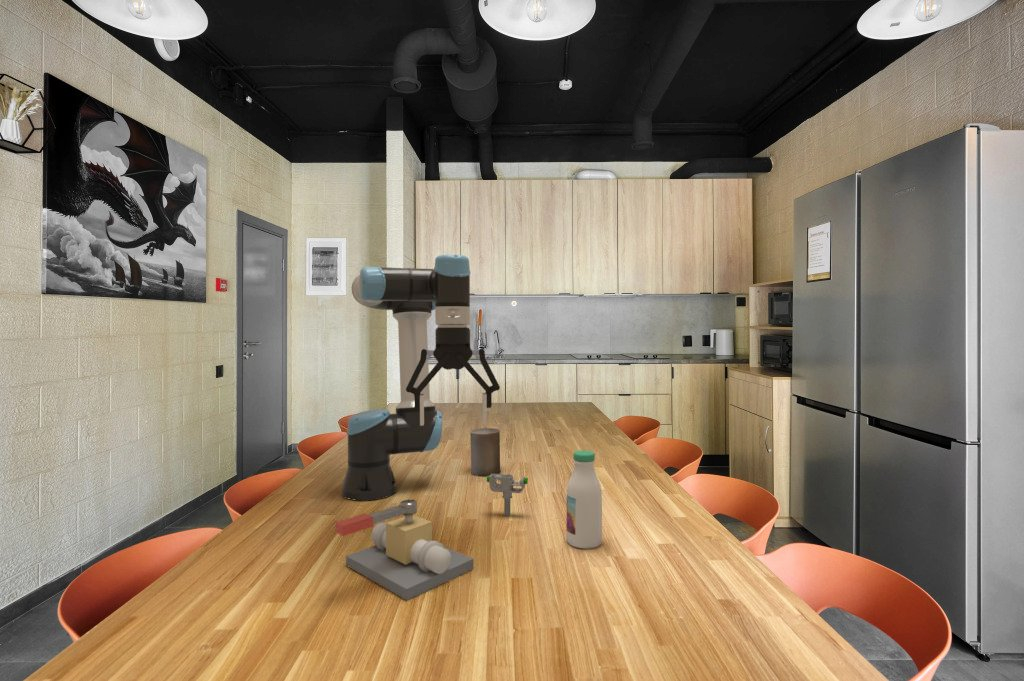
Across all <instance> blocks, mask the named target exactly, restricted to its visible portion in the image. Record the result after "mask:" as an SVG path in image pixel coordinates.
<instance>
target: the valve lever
mask: <svg viewBox="0 0 1024 681" xmlns="http://www.w3.org/2000/svg"><path fill="white" fill-rule="evenodd" d="M417 513H418V502H417V500H415V499H404V500H401V501H400V504H399V505H395V506H392V507H389V508H386V509H383V510H379V511H375V512H372V513H369V514H367V513H362V514H358V515H355V516H352V517H348V518H345V519H341V520H339V521H336V522H335V528H334V529H335V533H336V534H338V535H340V536H342V537H345V536H348V535H351V534H354V533H358V532H361V531H363V530H367V529H370V528H372V527H373V528H374V524H379V523H382V522H384V521H387V520H390V519H393V518H396V517H400V516H402V515H403V516H405V515H415V514H417Z"/></svg>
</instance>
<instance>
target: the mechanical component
mask: <svg viewBox="0 0 1024 681" xmlns="http://www.w3.org/2000/svg"><path fill="white" fill-rule="evenodd" d="M497 481H499V483H498V482H497ZM486 482H487V483H489V489H490V490H491V492H496V493H502V496H501V498H503V506H504V507H503V510H504V511H503V514H504V517H510V515H511V499H513V494H520V493H522V492H523V491H524V489H525V487H526V485H528V482H529V480H528V477H526V476H521V477H520V480H519V481H516V479H515V478H514V475H513V474H507V473H506V474H505V473H499V474H491V475H490V476H486ZM514 486H515V487H514ZM517 487H519V488H517ZM520 487H521V488H520Z"/></svg>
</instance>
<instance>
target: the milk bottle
mask: <svg viewBox="0 0 1024 681" xmlns="http://www.w3.org/2000/svg"><path fill="white" fill-rule="evenodd" d="M595 454H596V453H595V452H594V451H592V450H588V449H587V450H583V449H582V450H580V449H579V450H575V451H574V452H573V463H574V467H573V470H572V473H571V476H570V478H569V480H568V483H567V488H566V541H567V544H568V545H570V546H571V547H574V548H577V549H583V550H585V549H587V550H589V549H594V548H597V547H599V546H601V544H602V540H603V499H602V498H603V496H602V488H601V484H600V480H599V478H598V476H597V474H596V470H595V465H594V464H595V462H596V461H595V458H596V456H595Z"/></svg>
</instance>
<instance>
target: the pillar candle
mask: <svg viewBox="0 0 1024 681" xmlns="http://www.w3.org/2000/svg"><path fill="white" fill-rule="evenodd" d="M469 432H470V436H469V438H470V470H471V474H472V475H474V476H477V475H478V476H477V477H487V476H490V475H491V474H501V444H500V443H501V442H500V441H501V438H500V437H501V436H500V435H501V434H500V433H501V432H500V429H498V428H495V427H487V426H485V427H483V428H481V427H480V428H474V429H471V430H470V431H469Z"/></svg>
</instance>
